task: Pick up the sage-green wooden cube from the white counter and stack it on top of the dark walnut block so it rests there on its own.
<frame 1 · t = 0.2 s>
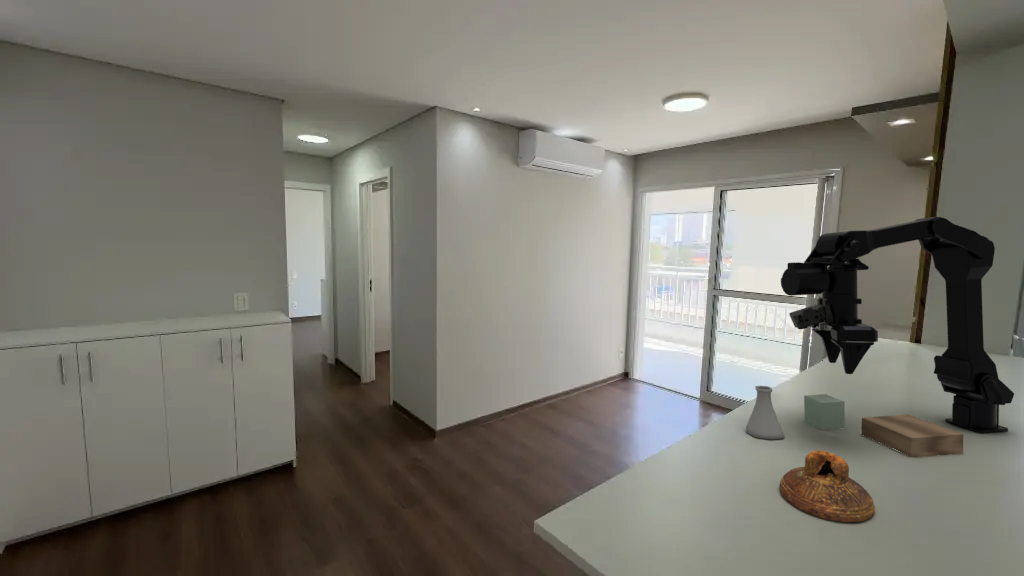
hand: (840, 368, 85), 14 cm above the kitchen counter, tool pointing down, fingers open, 9 cm apart
flask: (764, 434, 88), on the kitchen counter
sage cube: (824, 425, 90), on the kitchen counter
walnut block: (909, 445, 80), on the kitchen counter
brown clay lid: (824, 502, 63), on the kitchen counter
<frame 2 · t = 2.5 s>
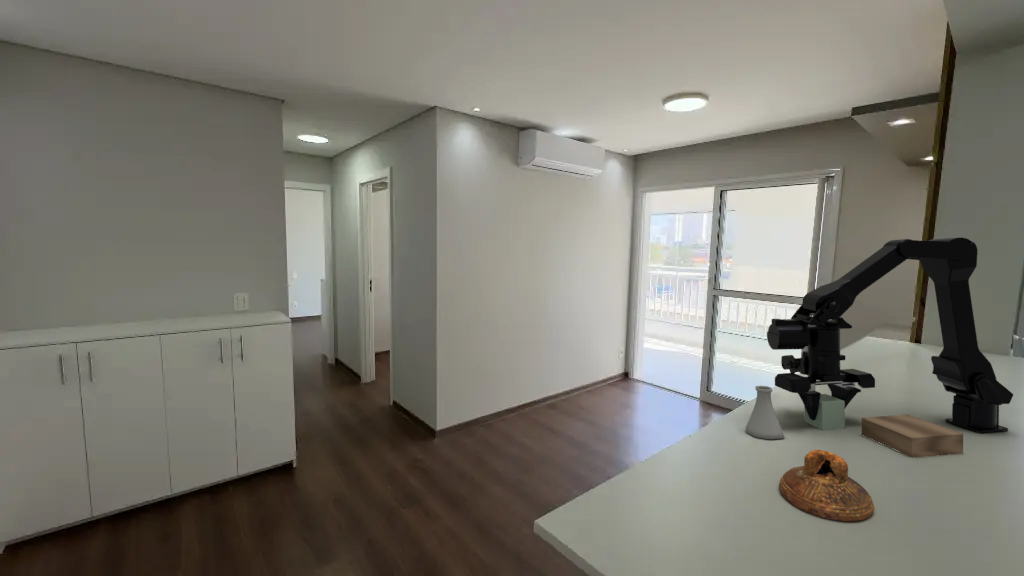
hand: (824, 418, 90), 1 cm above the kitchen counter, tool pointing down, fingers closed on sage cube, 5 cm apart
sage cube: (824, 424, 90), on the kitchen counter, touching gripper
everything else where it was.
when the fingers open (7 cm above the kitchen counter, at t = 8.3 s): sage cube drops 2 cm, resting on walnut block.
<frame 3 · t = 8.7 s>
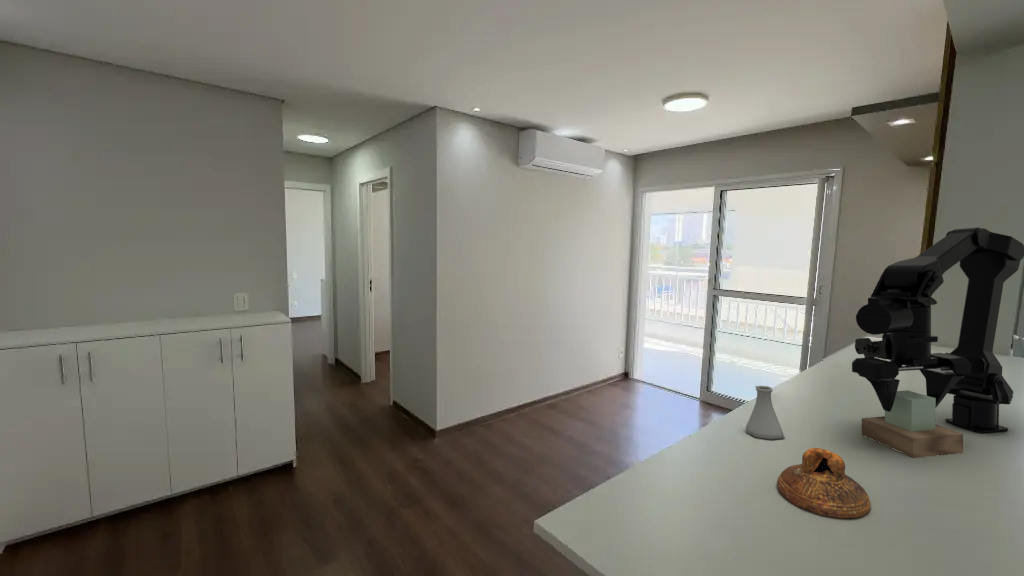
hand: (909, 409, 79), 7 cm above the kitchen counter, tool pointing down, fingers open, 9 cm apart
sage cube: (909, 425, 80), point 4 cm above the kitchen counter, touching walnut block
walnut block: (909, 445, 80), on the kitchen counter, touching sage cube
everything else where it was.
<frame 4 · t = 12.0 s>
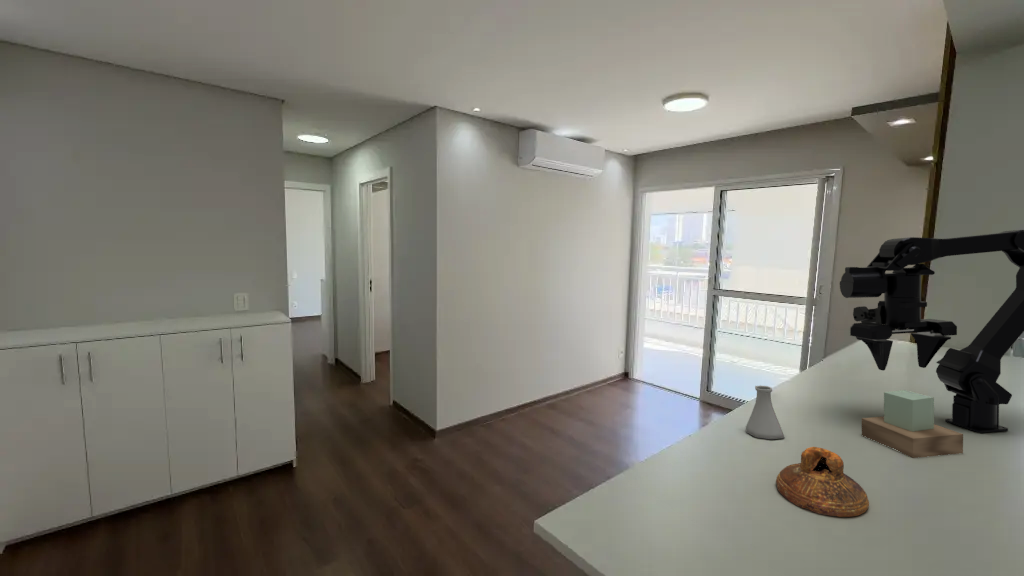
hand: (902, 368, 89), 12 cm above the kitchen counter, tool pointing down, fingers open, 9 cm apart
sage cube: (908, 425, 80), point 4 cm above the kitchen counter
walnut block: (909, 445, 80), on the kitchen counter
at the end: sage cube inside the target area on the walnut block (0.2 cm from its centre), point 4.0 cm above the walnut block's base; sage cube tilted 0°; the gripper is holding nothing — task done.
